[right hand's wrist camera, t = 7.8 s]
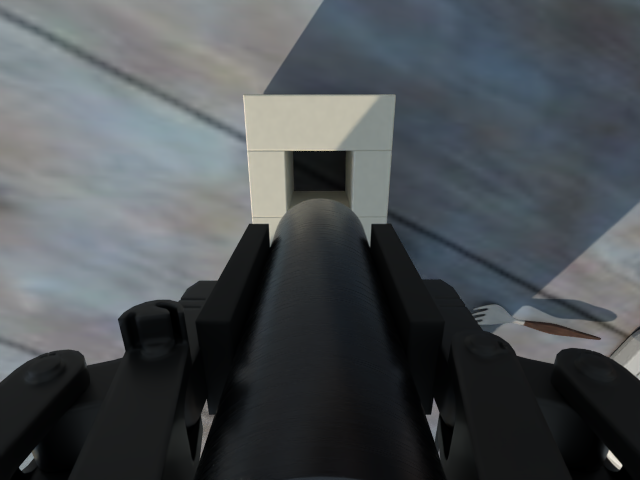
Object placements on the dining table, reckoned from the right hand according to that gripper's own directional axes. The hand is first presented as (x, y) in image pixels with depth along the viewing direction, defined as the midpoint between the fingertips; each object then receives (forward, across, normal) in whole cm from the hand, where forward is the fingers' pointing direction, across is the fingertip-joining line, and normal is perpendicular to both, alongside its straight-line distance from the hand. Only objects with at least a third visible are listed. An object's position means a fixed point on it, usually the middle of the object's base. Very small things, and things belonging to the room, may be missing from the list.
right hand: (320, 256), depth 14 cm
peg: (+2, 0, 0) cm, 2 cm away
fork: (+20, +23, -17) cm, 35 cm away
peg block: (+20, 0, -9) cm, 22 cm away
